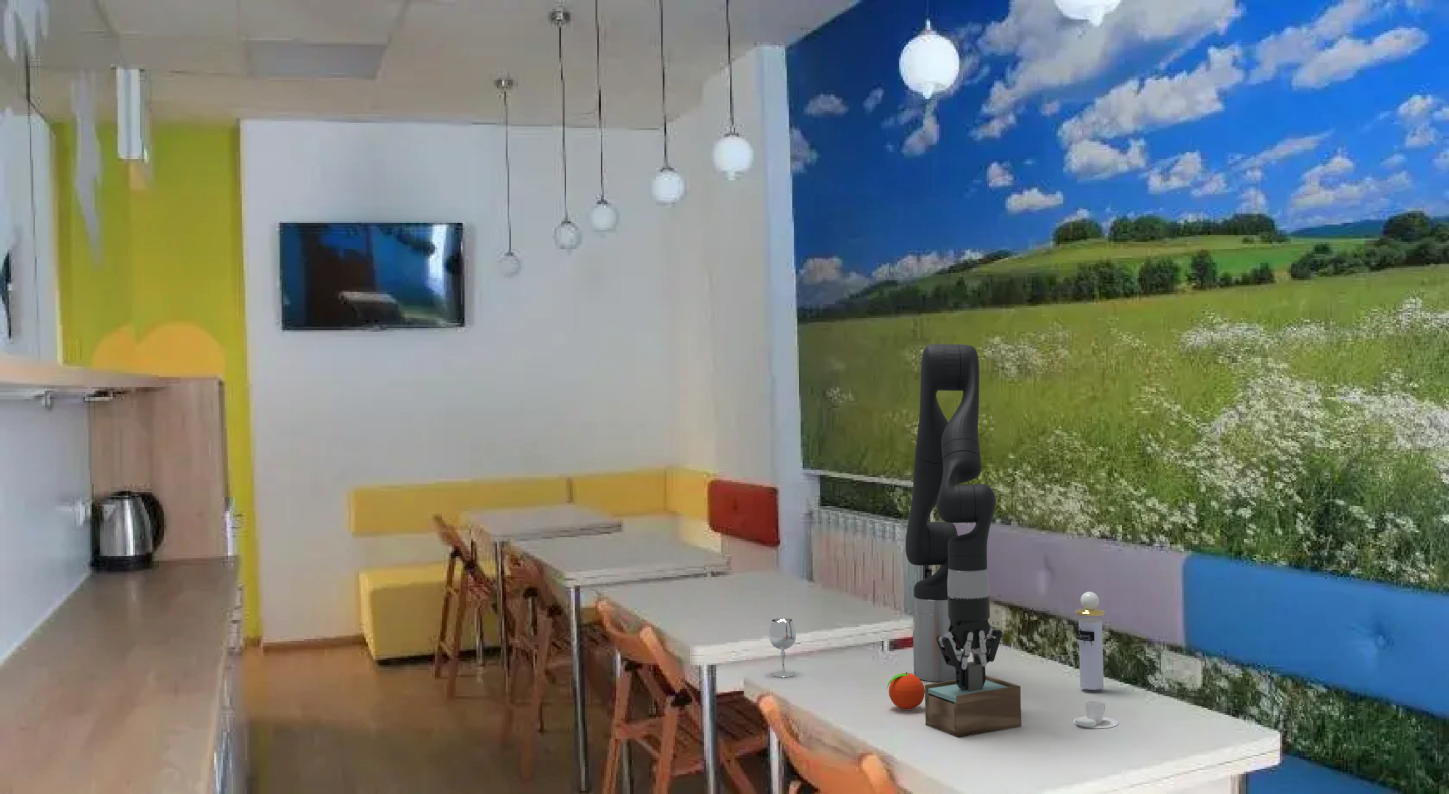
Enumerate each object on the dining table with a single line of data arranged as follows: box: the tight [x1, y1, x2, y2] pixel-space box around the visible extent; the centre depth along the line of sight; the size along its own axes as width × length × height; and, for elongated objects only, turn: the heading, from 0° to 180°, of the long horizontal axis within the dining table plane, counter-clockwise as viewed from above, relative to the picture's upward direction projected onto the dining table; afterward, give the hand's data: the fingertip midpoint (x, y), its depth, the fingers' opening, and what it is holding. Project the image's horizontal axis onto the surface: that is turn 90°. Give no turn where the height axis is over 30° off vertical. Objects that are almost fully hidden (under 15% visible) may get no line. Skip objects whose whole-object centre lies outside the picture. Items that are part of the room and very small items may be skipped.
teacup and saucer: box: [1072, 699, 1119, 729], centre depth 225 cm, size 9×8×4 cm
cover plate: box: [928, 661, 1007, 703], centre depth 225 cm, size 8×13×5 cm, turn 116°
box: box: [924, 674, 1022, 739], centre depth 225 cm, size 10×14×7 cm
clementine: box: [886, 672, 925, 711], centre depth 237 cm, size 8×7×7 cm
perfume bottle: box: [1074, 591, 1106, 691], centre depth 248 cm, size 6×6×20 cm
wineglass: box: [768, 617, 797, 678], centre depth 269 cm, size 6×6×12 cm
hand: (970, 687), depth 225 cm, fingers closed on cover plate, 3 cm apart
